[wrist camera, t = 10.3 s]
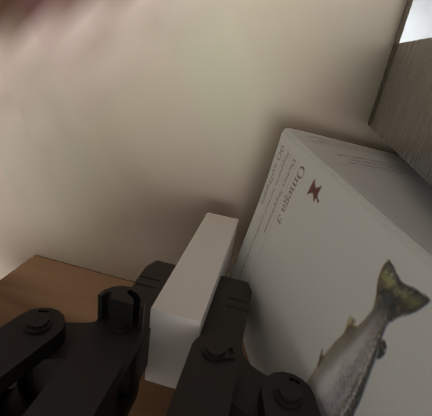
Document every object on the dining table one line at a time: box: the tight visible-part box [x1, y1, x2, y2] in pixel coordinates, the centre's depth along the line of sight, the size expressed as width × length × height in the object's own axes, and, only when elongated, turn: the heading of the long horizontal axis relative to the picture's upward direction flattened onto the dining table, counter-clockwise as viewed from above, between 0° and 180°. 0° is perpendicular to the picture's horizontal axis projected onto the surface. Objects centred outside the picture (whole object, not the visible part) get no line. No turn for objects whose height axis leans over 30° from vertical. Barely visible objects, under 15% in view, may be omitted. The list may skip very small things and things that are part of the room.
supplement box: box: [229, 128, 432, 416], centre depth 10 cm, size 7×7×13 cm
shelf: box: [0, 255, 249, 416], centre depth 13 cm, size 12×30×11 cm, turn 82°
